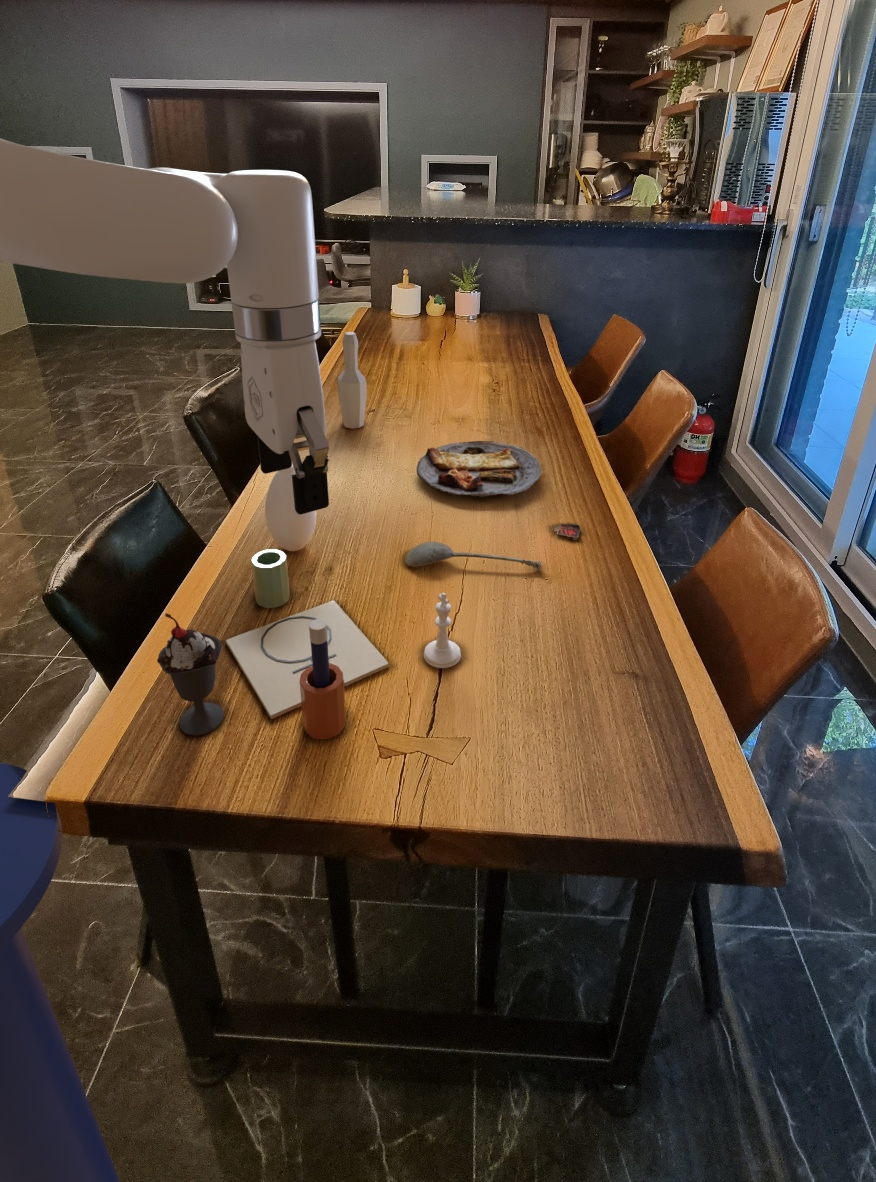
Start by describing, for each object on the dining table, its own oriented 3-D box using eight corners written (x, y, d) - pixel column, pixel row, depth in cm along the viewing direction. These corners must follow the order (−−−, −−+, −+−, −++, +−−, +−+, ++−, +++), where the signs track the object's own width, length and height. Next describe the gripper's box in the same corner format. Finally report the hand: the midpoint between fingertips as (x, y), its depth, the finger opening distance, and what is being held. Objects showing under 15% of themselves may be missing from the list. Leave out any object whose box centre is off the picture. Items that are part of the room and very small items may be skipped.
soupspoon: (408, 550, 116) (401, 574, 110) (408, 533, 114) (400, 557, 109) (540, 558, 113) (540, 583, 108) (541, 541, 112) (541, 565, 106)
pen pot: (314, 746, 78) (310, 699, 75) (297, 718, 81) (293, 673, 79) (352, 727, 80) (350, 681, 78) (334, 702, 84) (331, 657, 81)
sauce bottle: (291, 566, 110) (282, 464, 102) (259, 549, 114) (248, 450, 106) (327, 546, 115) (321, 448, 108) (296, 530, 120) (288, 435, 112)
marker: (320, 728, 80) (313, 632, 74) (313, 718, 81) (306, 622, 75) (335, 721, 81) (329, 625, 75) (328, 711, 82) (322, 616, 76)
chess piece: (437, 673, 89) (438, 610, 85) (416, 652, 92) (416, 590, 88) (468, 658, 92) (470, 596, 87) (446, 638, 95) (448, 578, 91)
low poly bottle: (334, 423, 163) (329, 332, 154) (356, 417, 167) (353, 328, 158) (349, 432, 159) (346, 338, 150) (372, 425, 163) (370, 334, 153)
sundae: (170, 706, 83) (150, 604, 76) (228, 692, 85) (214, 592, 79) (171, 748, 77) (149, 642, 71) (233, 732, 79) (218, 628, 73)
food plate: (415, 503, 129) (415, 486, 128) (417, 451, 150) (417, 436, 149) (548, 503, 130) (549, 487, 129) (531, 451, 151) (532, 437, 150)
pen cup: (263, 612, 99) (258, 571, 96) (251, 595, 103) (246, 555, 100) (294, 601, 102) (291, 561, 99) (282, 584, 105) (278, 545, 102)
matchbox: (579, 525, 123) (579, 522, 123) (582, 540, 119) (582, 538, 118) (552, 524, 123) (552, 521, 123) (555, 539, 119) (555, 537, 119)
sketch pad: (271, 719, 81) (270, 715, 81) (226, 643, 93) (225, 639, 93) (389, 666, 90) (389, 662, 89) (334, 603, 102) (333, 599, 101)
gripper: (208, 304, 66) (230, 464, 74) (269, 350, 53) (288, 539, 61) (284, 296, 70) (297, 449, 77) (357, 337, 57) (365, 516, 64)
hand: (293, 488), depth 69 cm, fingers open, 9 cm apart
